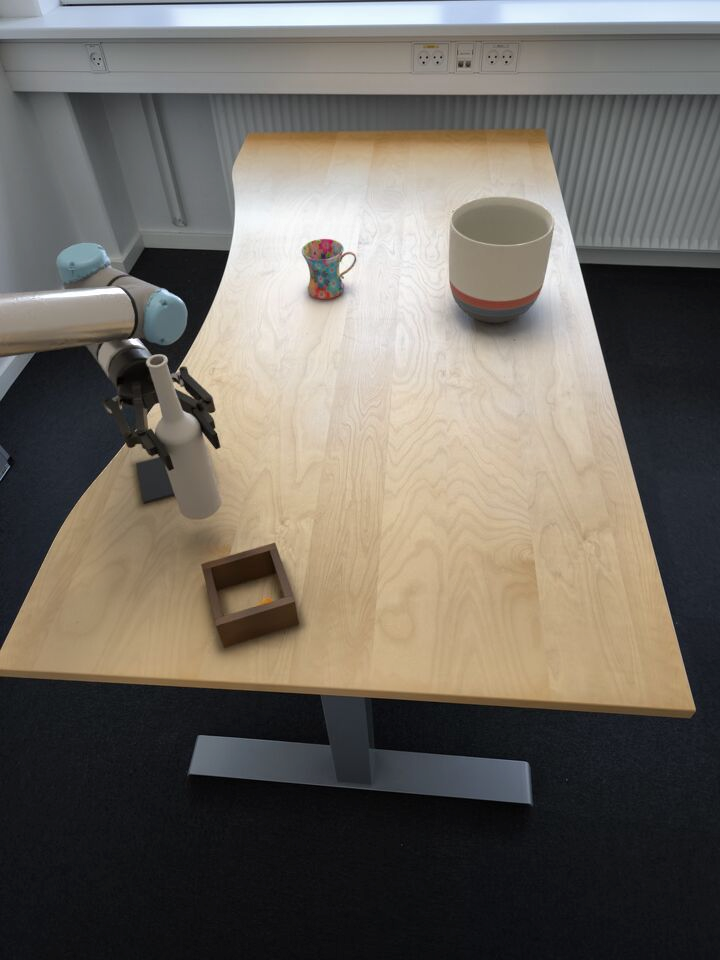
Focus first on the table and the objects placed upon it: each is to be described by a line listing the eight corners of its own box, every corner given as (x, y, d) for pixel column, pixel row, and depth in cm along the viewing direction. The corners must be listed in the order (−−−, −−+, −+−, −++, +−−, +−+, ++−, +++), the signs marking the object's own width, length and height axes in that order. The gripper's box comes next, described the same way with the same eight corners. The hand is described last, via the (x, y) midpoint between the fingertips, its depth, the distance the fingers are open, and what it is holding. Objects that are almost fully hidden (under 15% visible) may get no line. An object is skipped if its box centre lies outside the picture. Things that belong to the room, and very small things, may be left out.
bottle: (224, 487, 117) (186, 344, 96) (218, 519, 112) (176, 375, 92) (183, 488, 117) (136, 345, 97) (175, 520, 112) (124, 377, 92)
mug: (306, 304, 166) (302, 261, 158) (305, 282, 172) (300, 240, 164) (359, 299, 166) (357, 257, 158) (356, 277, 172) (353, 235, 165)
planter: (536, 287, 166) (549, 195, 151) (543, 340, 152) (559, 245, 137) (446, 286, 168) (450, 196, 152) (445, 339, 154) (450, 245, 139)
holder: (223, 648, 105) (215, 625, 101) (208, 587, 113) (200, 563, 109) (299, 624, 108) (295, 601, 103) (280, 565, 115) (275, 542, 111)
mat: (143, 503, 126) (143, 501, 125) (136, 465, 132) (135, 463, 132) (212, 485, 128) (211, 483, 128) (202, 448, 135) (201, 446, 134)
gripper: (193, 364, 120) (259, 442, 106) (79, 410, 113) (134, 501, 100) (183, 326, 115) (251, 403, 101) (62, 372, 108) (118, 462, 94)
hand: (193, 451), depth 100 cm, fingers closed on bottle, 6 cm apart
